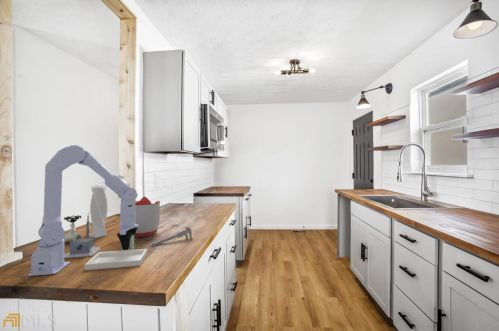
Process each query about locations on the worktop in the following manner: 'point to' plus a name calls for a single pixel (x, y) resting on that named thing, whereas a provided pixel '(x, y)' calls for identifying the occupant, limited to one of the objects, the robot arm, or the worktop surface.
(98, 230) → the twisted vase
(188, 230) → the caliper
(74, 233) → the valve
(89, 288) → the worktop surface
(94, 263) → the parts tray
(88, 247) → the mounted unit
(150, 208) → the citrus juicer
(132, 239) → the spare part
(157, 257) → the worktop surface
